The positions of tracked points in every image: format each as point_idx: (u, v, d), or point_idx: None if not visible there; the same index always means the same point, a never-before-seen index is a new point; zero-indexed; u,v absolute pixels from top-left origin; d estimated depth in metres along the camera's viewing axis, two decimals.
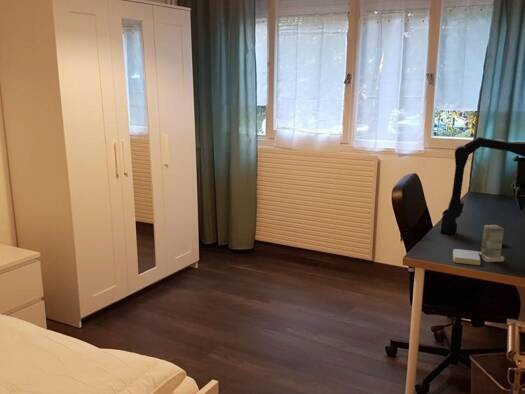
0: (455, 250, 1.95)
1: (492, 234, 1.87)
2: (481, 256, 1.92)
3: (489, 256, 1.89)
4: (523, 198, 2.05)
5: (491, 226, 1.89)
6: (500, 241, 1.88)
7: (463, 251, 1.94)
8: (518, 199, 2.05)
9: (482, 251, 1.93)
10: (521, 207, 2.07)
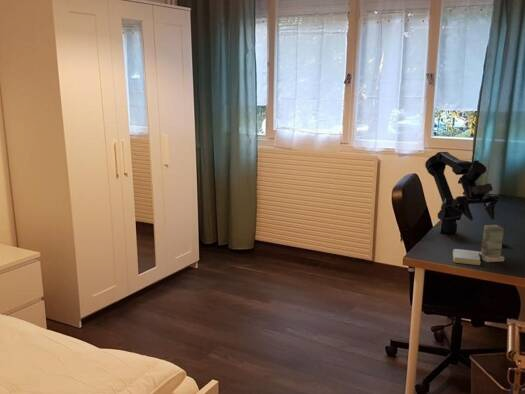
0: (455, 250, 1.95)
1: (492, 234, 1.87)
2: (481, 256, 1.92)
3: (489, 256, 1.89)
4: (465, 208, 1.98)
5: (491, 226, 1.90)
6: (500, 241, 1.88)
7: (463, 251, 1.94)
8: (462, 211, 2.00)
9: (482, 251, 1.93)
10: (470, 217, 1.97)
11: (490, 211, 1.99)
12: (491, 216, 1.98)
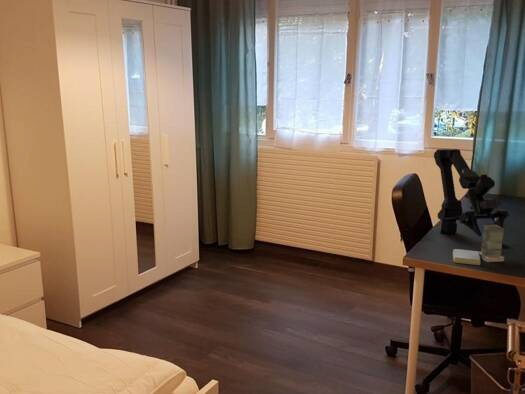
0: (455, 250, 1.95)
1: (492, 234, 1.87)
2: (481, 256, 1.92)
3: (489, 256, 1.89)
4: (473, 224, 1.93)
5: (491, 226, 1.89)
6: (500, 241, 1.88)
7: (463, 251, 1.94)
8: (470, 227, 1.94)
9: (482, 251, 1.93)
10: (478, 233, 1.91)
11: None
12: None
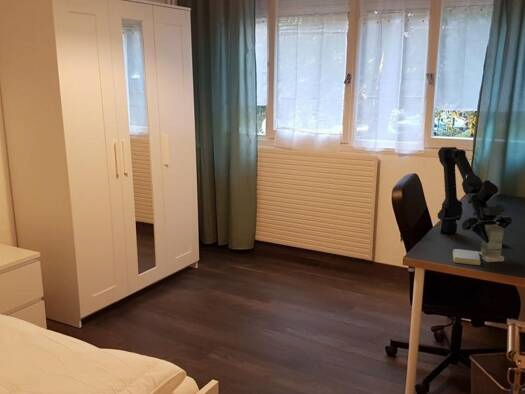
0: (455, 250, 1.95)
1: (492, 234, 1.87)
2: (481, 256, 1.92)
3: (489, 256, 1.89)
4: (480, 230, 1.91)
5: (491, 226, 1.89)
6: (500, 241, 1.88)
7: (463, 251, 1.94)
8: (477, 233, 1.92)
9: (482, 251, 1.93)
10: (486, 240, 1.89)
11: None
12: None
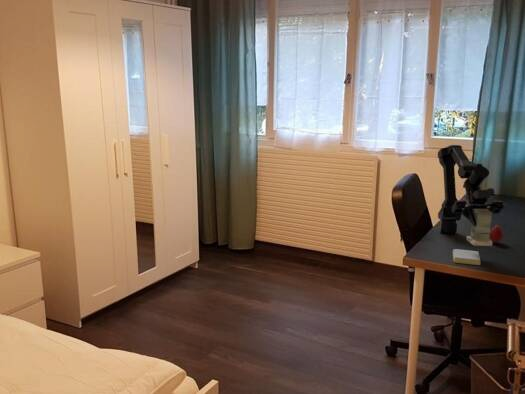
0: (455, 250, 1.95)
1: (479, 217, 1.86)
2: (469, 240, 1.91)
3: (476, 240, 1.88)
4: None
5: (480, 210, 1.88)
6: (488, 225, 1.87)
7: (463, 251, 1.94)
8: (466, 217, 1.92)
9: (471, 235, 1.92)
10: (473, 223, 1.88)
11: None
12: None
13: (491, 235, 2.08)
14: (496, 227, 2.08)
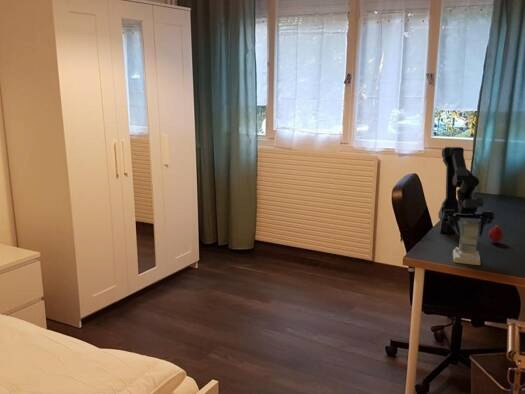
0: None
1: (465, 229, 1.86)
2: (457, 251, 1.92)
3: (463, 251, 1.88)
4: None
5: (468, 221, 1.88)
6: (475, 237, 1.86)
7: None
8: (452, 225, 1.92)
9: (459, 246, 1.92)
10: (457, 232, 1.89)
11: (479, 228, 1.89)
12: (479, 233, 1.88)
13: (491, 235, 2.08)
14: (496, 227, 2.08)
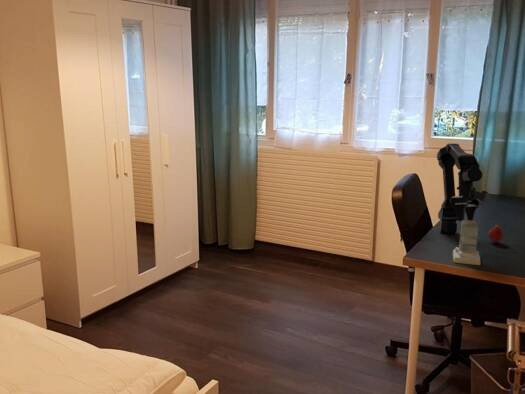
0: None
1: (465, 229, 1.86)
2: (457, 251, 1.92)
3: (463, 251, 1.88)
4: (461, 208, 1.96)
5: (468, 221, 1.88)
6: (475, 237, 1.86)
7: None
8: (455, 209, 1.97)
9: (459, 246, 1.92)
10: (461, 219, 1.97)
11: (470, 214, 2.04)
12: (470, 219, 2.03)
13: (491, 235, 2.08)
14: (496, 227, 2.08)
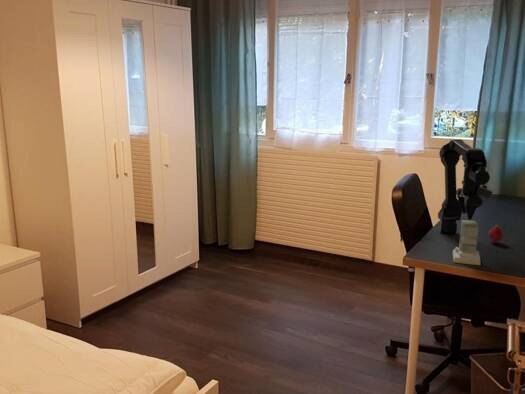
0: None
1: (465, 229, 1.86)
2: (457, 251, 1.92)
3: (463, 251, 1.88)
4: (472, 207, 1.96)
5: (468, 221, 1.88)
6: (475, 237, 1.86)
7: None
8: (467, 208, 1.96)
9: (459, 246, 1.92)
10: (470, 217, 1.98)
11: (465, 205, 2.07)
12: (464, 210, 2.07)
13: (491, 235, 2.08)
14: (496, 227, 2.08)
